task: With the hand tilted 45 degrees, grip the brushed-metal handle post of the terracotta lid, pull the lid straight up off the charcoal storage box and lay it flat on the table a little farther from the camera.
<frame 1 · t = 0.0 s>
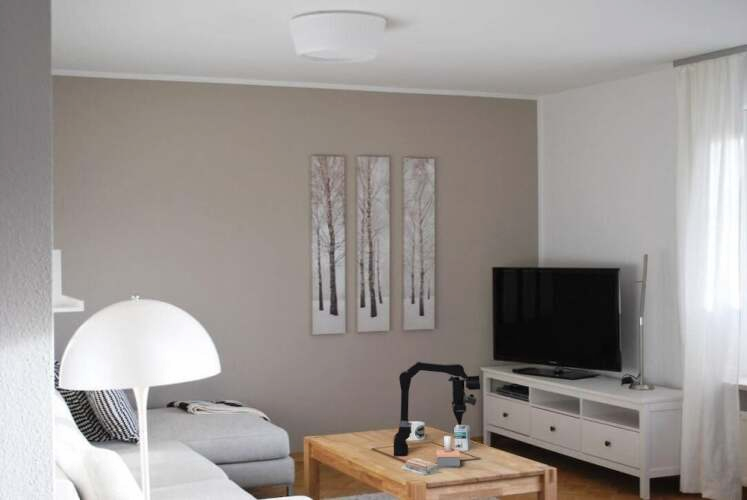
hand: (459, 422, 468), 15 cm above the table, tool pointing down, fingers open, 9 cm apart
mug: (413, 439, 506), on the table
lid: (448, 456, 444), point 4 cm above the table, touching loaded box
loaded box: (448, 465, 444), on the table
light bulb box: (462, 449, 480), on the table
packaged product: (421, 472, 436), on the table
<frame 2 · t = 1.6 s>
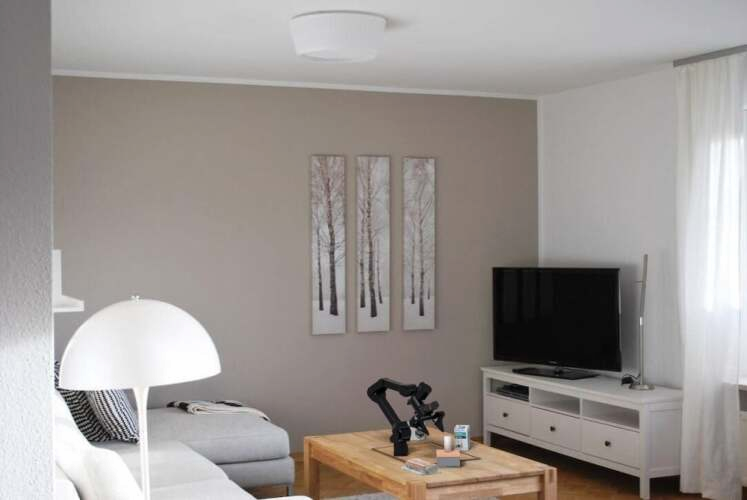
hand: (436, 433, 449), 13 cm above the table, tool tilted 45°, fingers open, 9 cm apart
nothing on the table moved.
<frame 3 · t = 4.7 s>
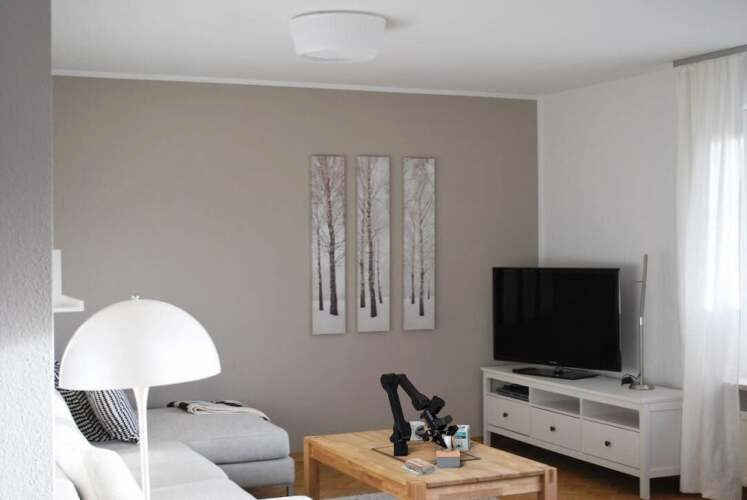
hand: (450, 448, 443), 8 cm above the table, tool tilted 45°, fingers closed on lid, 3 cm apart
lid: (448, 456, 444), point 4 cm above the table, touching gripper, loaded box
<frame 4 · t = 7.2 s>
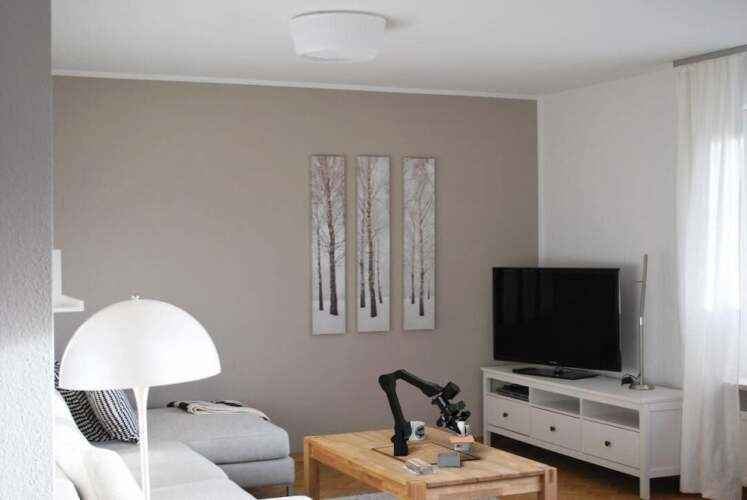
hand: (463, 433, 447), 14 cm above the table, tool tilted 45°, fingers closed on lid, 3 cm apart
lid: (461, 441, 448), point 10 cm above the table, touching gripper
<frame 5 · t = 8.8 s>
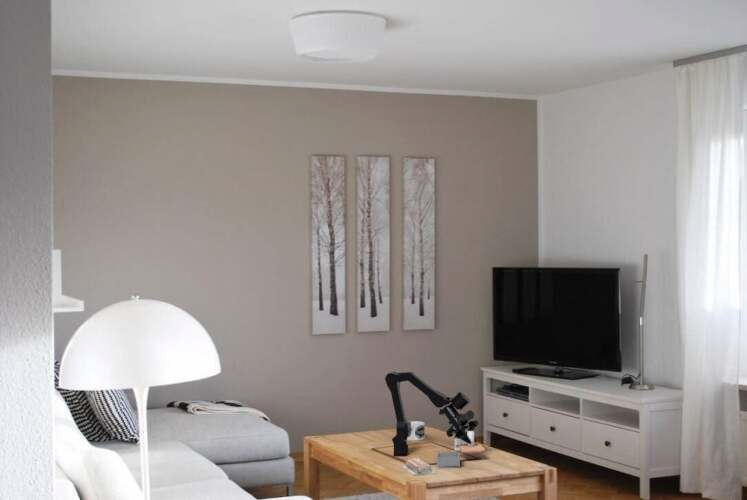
hand: (473, 442, 454), 8 cm above the table, tool tilted 45°, fingers closed on lid, 3 cm apart
lid: (471, 451, 455), point 4 cm above the table, touching gripper
when the fingers open (6 cm above the table, at t = 9.7 s): lid drops 3 cm, on the table.
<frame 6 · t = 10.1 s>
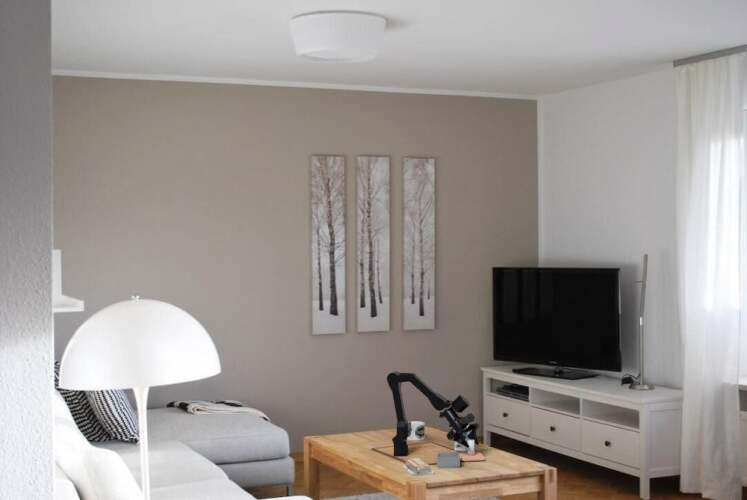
hand: (473, 445, 454), 7 cm above the table, tool tilted 45°, fingers open, 7 cm apart
lid: (471, 460, 455), on the table
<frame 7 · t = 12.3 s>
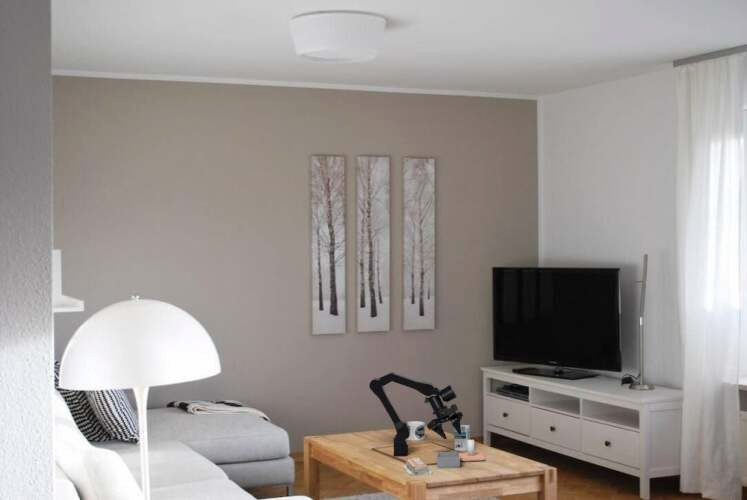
hand: (453, 436, 460), 10 cm above the table, tool tilted 35°, fingers open, 9 cm apart
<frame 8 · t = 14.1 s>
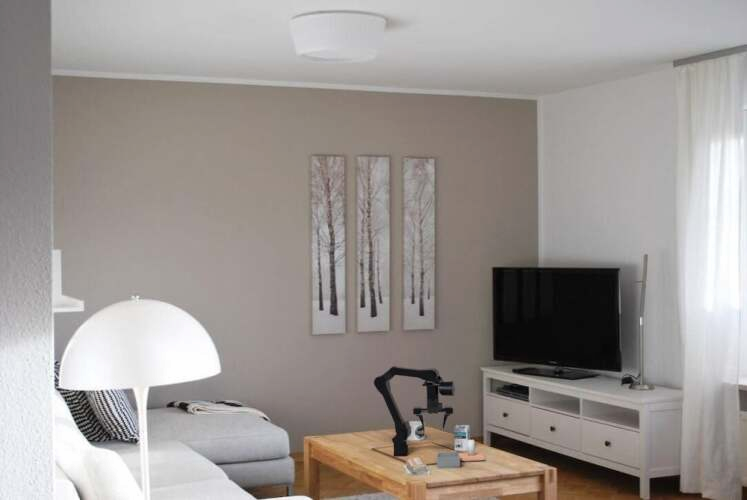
hand: (433, 428, 464), 13 cm above the table, tool pointing down, fingers open, 9 cm apart
at the end: lid inside the target area (0.0 cm from its centre), on the table; lid tilted 0°; lid touching table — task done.
